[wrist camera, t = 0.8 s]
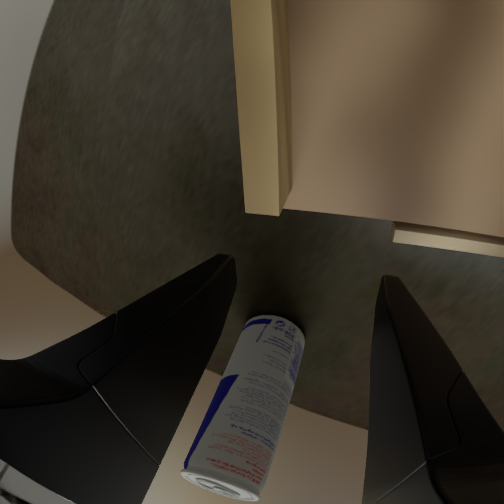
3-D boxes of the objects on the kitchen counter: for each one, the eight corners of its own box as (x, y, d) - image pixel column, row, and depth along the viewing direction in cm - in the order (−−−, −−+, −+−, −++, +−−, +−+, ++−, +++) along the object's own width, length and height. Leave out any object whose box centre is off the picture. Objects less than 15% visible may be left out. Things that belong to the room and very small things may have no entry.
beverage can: (242, 306, 28) (168, 465, 16) (307, 316, 26) (256, 492, 15) (247, 347, 31) (189, 486, 19) (304, 357, 29) (261, 507, 18)
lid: (568, 32, 5) (610, 36, 3) (535, 237, 11) (561, 277, 8) (253, -28, 9) (224, -48, 6) (265, 200, 14) (244, 236, 12)
